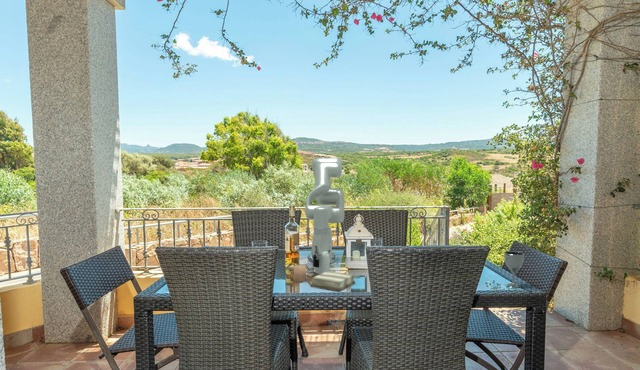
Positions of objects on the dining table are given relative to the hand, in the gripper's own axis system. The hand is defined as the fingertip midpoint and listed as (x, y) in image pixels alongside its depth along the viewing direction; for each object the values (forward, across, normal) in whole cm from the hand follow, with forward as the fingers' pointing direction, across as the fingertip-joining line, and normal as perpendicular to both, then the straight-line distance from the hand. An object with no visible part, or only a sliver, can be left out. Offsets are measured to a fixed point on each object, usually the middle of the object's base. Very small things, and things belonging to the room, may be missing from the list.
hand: (321, 265), depth 213 cm
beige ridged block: (+5, +14, +15) cm, 21 cm away
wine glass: (+5, -27, +86) cm, 90 cm away
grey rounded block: (+5, 0, 0) cm, 5 cm away
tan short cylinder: (+5, +16, -2) cm, 17 cm away
